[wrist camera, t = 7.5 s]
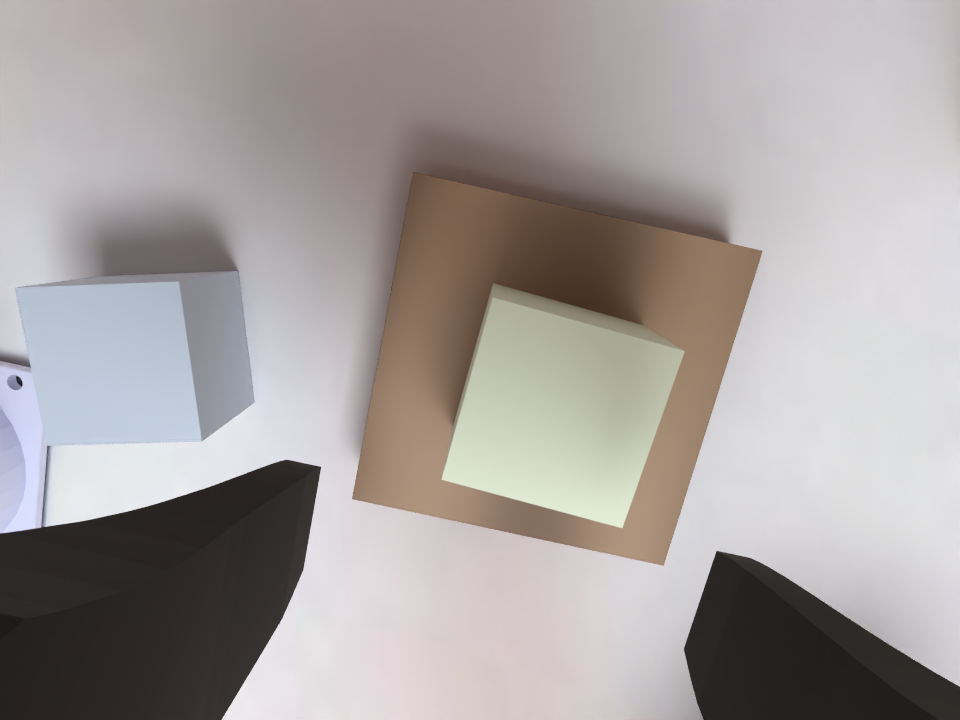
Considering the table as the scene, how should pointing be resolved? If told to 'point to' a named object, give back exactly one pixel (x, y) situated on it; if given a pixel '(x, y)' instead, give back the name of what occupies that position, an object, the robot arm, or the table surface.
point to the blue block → (137, 356)
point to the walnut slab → (561, 277)
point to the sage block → (560, 406)
